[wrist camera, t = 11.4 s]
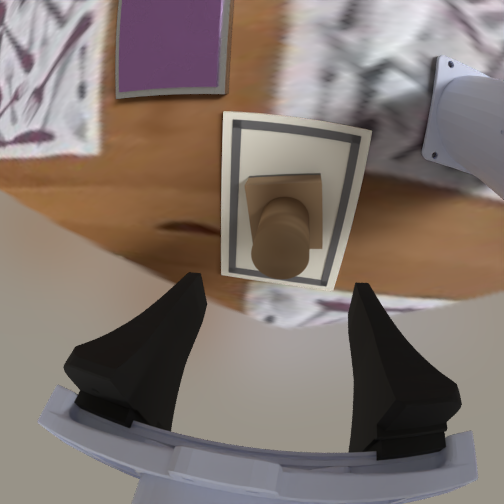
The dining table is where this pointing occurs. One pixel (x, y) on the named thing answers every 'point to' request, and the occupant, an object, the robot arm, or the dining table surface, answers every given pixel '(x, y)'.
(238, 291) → the dining table surface
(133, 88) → the ink pad
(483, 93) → the robot arm
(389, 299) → the dining table surface
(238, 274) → the marked card
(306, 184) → the stamp
